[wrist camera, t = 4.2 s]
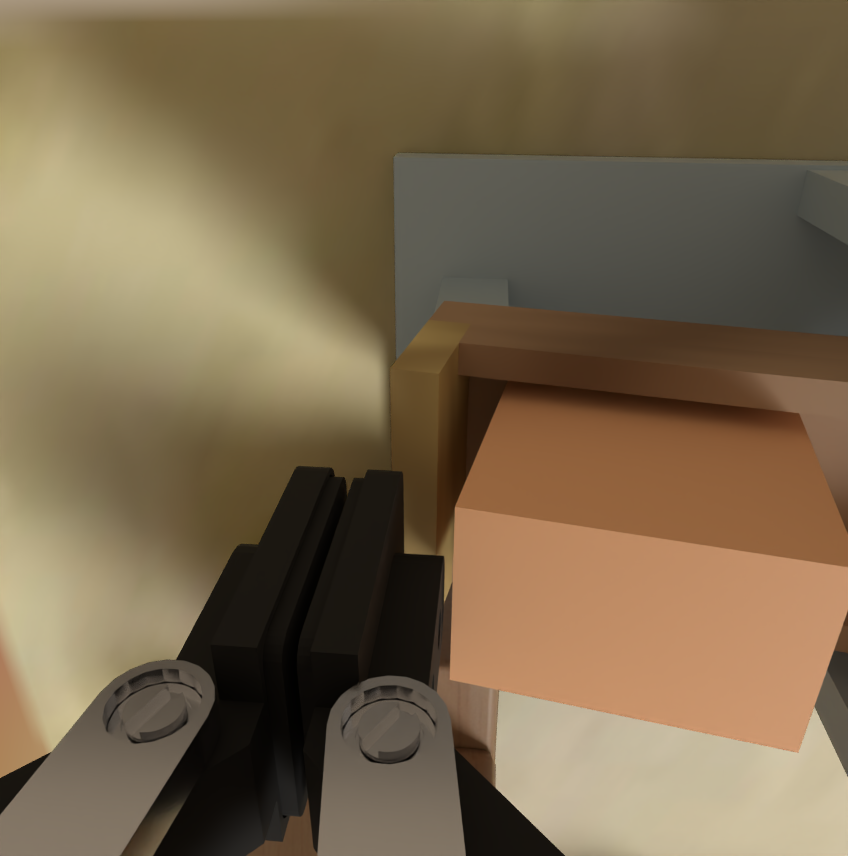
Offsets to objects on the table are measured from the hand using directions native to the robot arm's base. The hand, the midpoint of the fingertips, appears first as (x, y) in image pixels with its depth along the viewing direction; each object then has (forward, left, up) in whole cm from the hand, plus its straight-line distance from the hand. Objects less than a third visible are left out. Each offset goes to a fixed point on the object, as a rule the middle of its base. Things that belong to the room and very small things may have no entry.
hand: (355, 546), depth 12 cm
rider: (-5, 0, -3) cm, 6 cm away
